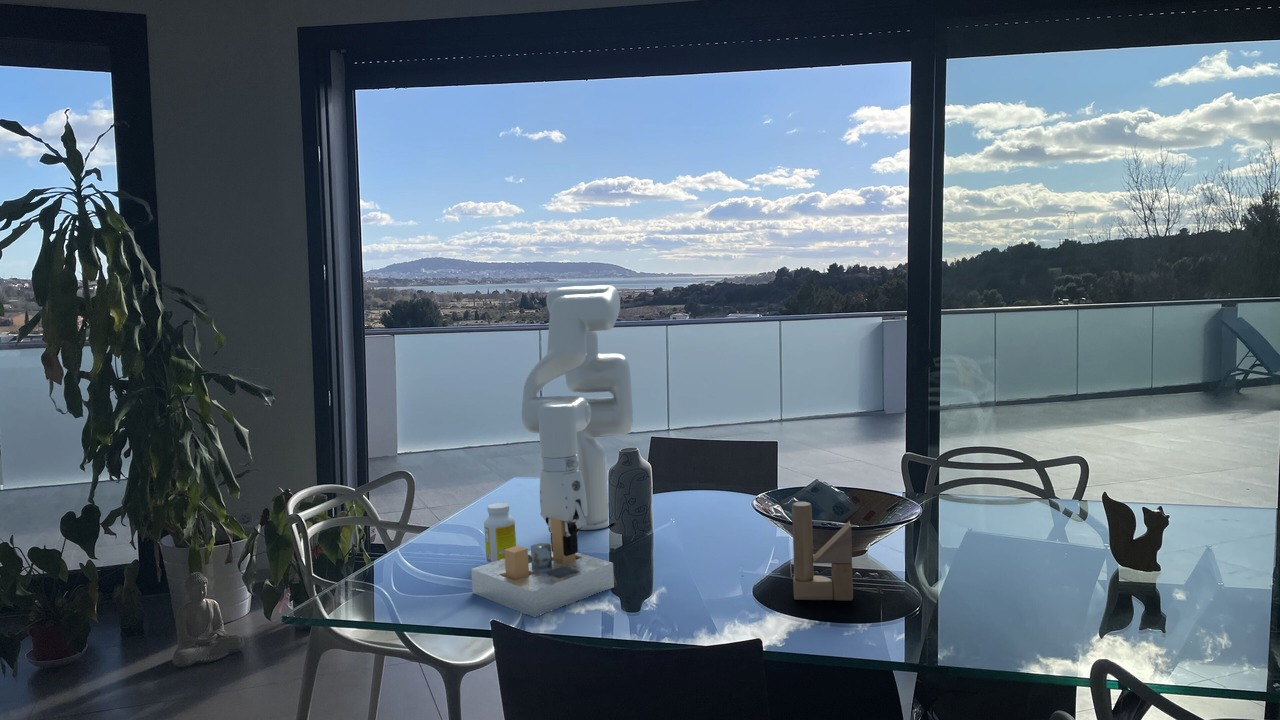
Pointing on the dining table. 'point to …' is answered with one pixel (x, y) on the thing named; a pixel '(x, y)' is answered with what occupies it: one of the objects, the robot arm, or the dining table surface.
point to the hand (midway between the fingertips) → (564, 551)
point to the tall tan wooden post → (516, 562)
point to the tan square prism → (559, 542)
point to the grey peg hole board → (543, 581)
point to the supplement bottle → (498, 531)
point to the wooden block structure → (820, 560)
